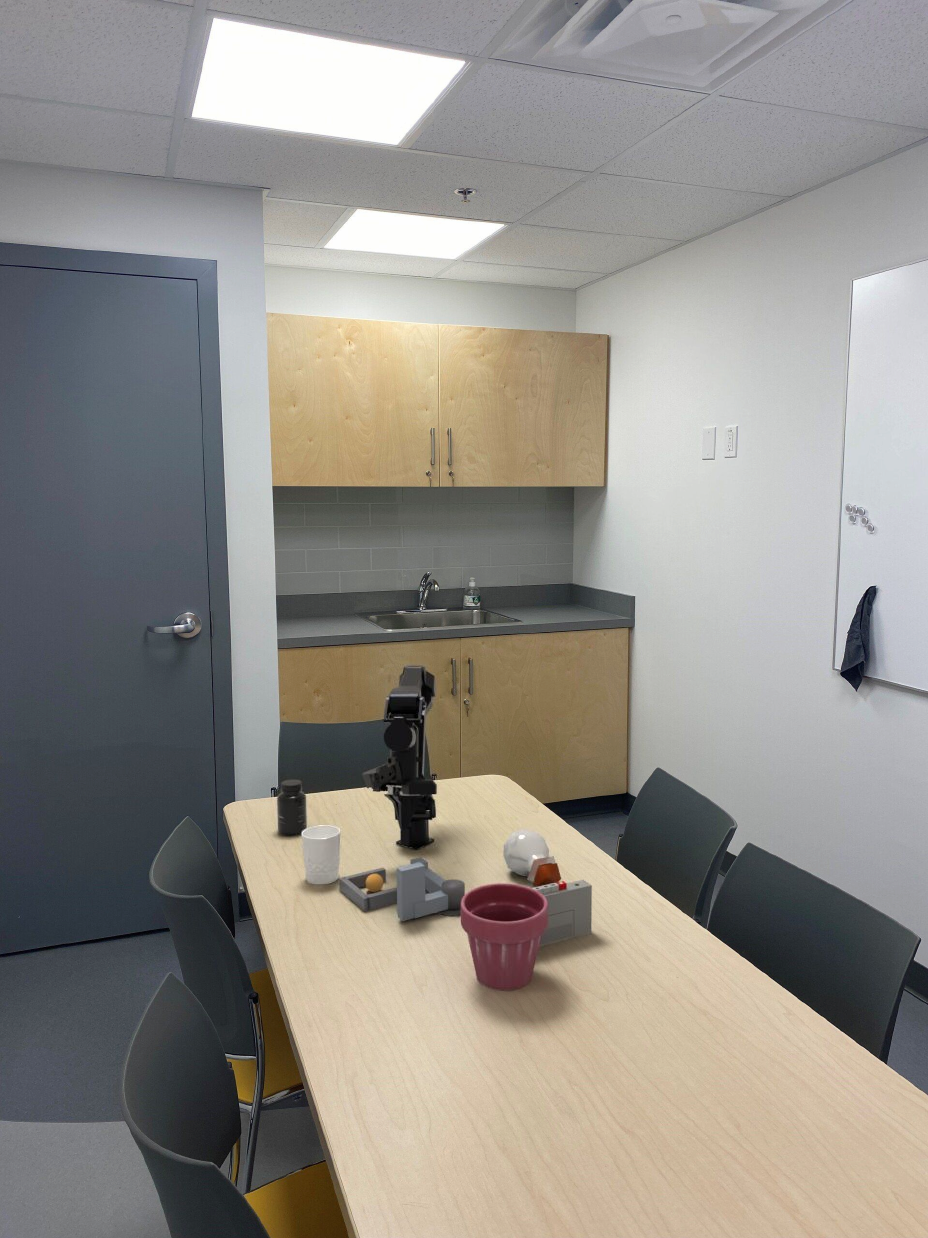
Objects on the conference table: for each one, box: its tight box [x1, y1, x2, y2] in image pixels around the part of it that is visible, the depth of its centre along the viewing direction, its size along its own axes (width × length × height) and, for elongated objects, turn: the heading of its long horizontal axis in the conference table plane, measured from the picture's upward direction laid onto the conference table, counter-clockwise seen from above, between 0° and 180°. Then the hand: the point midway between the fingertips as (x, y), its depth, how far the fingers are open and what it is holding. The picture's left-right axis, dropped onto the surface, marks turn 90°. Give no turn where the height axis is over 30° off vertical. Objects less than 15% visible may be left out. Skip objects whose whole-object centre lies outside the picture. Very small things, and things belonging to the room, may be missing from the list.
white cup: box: [301, 824, 341, 886], centre depth 183 cm, size 8×8×10 cm
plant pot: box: [460, 882, 548, 991], centre depth 144 cm, size 14×14×13 cm
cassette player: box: [531, 879, 593, 947], centre depth 156 cm, size 16×3×10 cm, turn 116°
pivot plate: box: [437, 908, 461, 917], centre depth 169 cm, size 7×7×1 cm
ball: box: [365, 874, 384, 893], centre depth 177 cm, size 4×4×4 cm
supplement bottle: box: [276, 779, 308, 837], centre depth 210 cm, size 7×7×12 cm
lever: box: [396, 856, 466, 922], centre depth 172 cm, size 17×14×10 cm
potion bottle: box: [503, 828, 562, 887], centre depth 182 cm, size 9×10×15 cm
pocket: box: [338, 867, 397, 912], centre depth 175 cm, size 10×11×2 cm
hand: (403, 829), depth 181 cm, fingers closed
